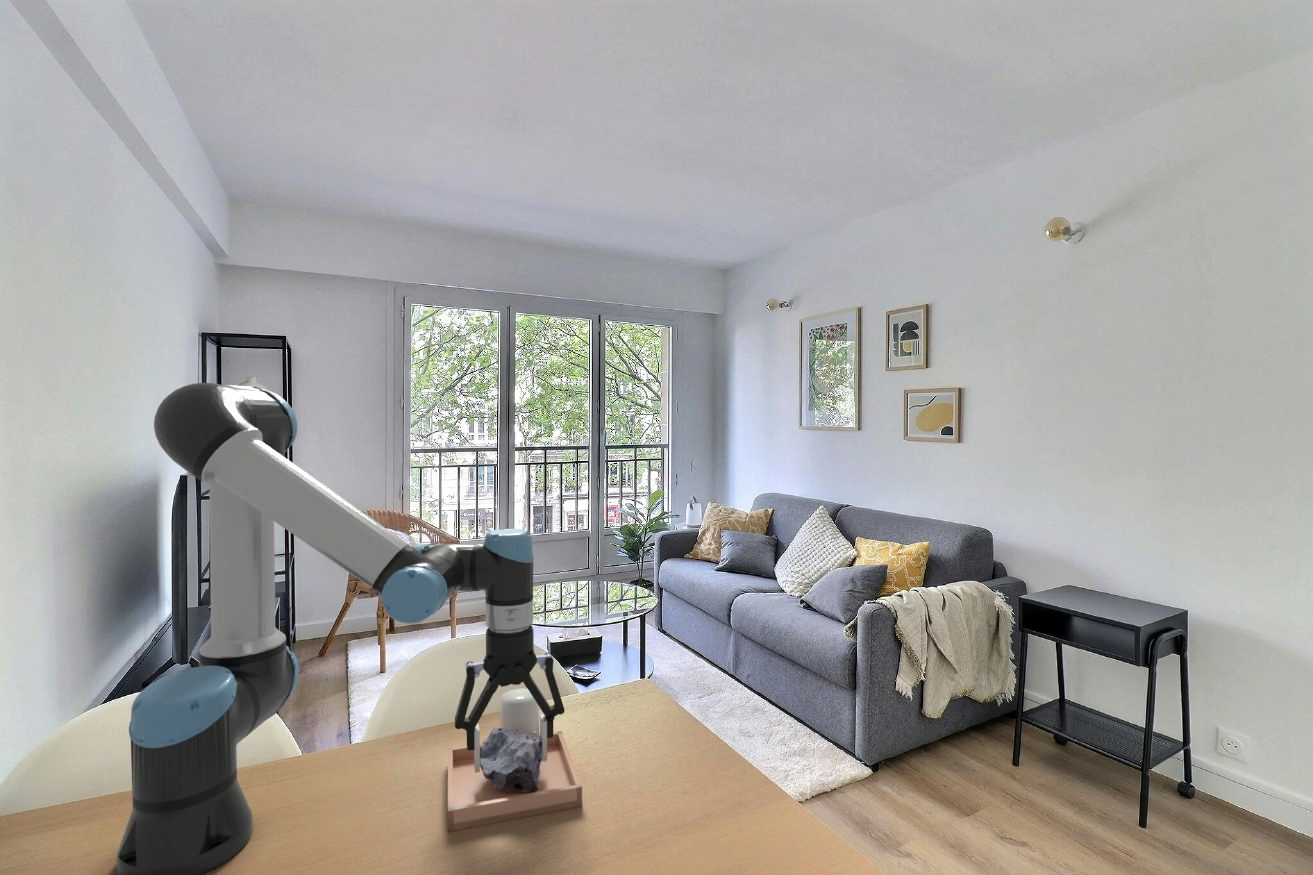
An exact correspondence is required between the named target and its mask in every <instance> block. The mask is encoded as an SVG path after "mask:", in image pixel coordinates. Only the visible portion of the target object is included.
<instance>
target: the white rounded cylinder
mask: <svg viewBox="0 0 1313 875" xmlns="http://www.w3.org/2000/svg"><path fill="white" fill-rule="evenodd" d="M499 701H500V728H512V729H515V730H524V731H537V733H538V734H540V707H539V706H538V704H537V702H536V701H535V699H534V698H533V696H532V695H531V693H530V691H529V690H528V689H527V688H516V689H511V690H508V691H506V692H504V693H502V694H501V696H500V700H499Z"/></svg>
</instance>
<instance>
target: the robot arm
mask: <svg viewBox="0 0 1313 875" xmlns="http://www.w3.org/2000/svg"><path fill="white" fill-rule="evenodd" d="M153 421H154V422H153V430H154V433H155V434H154V435H155V438H156V440H157V442H158V444H159V446H160V447H161V449H162V450H163V452H165V453H166V455H167V456H168V457H169V458H170V459H171V460H172V461H173V462H175V463H176V465H178V466H180V467H181V468H182V469H184V470H185V471H186V472H188V473H189V474H190V475H192V476H193V477H194V478H196V479H197V480H199V481H201V482H202V483H204V484H205V485H207V486H209V554H210V555H209V556H210V557H209V561H210V562H209V563H210V564H209V566H210V567H209V568H210V569H209V570H210V571H209V573H210V575H209V576H210V577H209V580H210V638H208V639H207V641H205V642H204V643H203V644H202V645H201V646H200V647H199V651H198V652H199V653H198V656H199V657H198V658H199V660H198V661H199V663H198V664H199V666H194V667H191V668H185V669H182V670H180V671H179V672H177V673H174V674H167V675H165V676H163V677H161V678H159V679H157V680H155V681H153V682H152V683H150V684H149V685H148V686H146V687H145V688H143V689H142V691H140V692H139V694H138V695H137V696H136V697H135V698H134V700H133V702H132V705H131V709H130V710H131V711H130V721H129V725H128V734H129V739H130V754H131V755H130V760H131V763H130V764H131V793H132V808H131V813H130V816H129V819H128V822H127V825H126V827H125V831H124V832H123V836H122V839H121V842H120V844H119V847H118V849H117V854H116V875H203V874H206V873H207V872H210V871H212V870H213V869H215V868H217V867H219V866H221V865H222V864H224V863H226V862H227V861H228V860H230V859H231V858H233V857H234V856H235V855H237V854H238V853H239V852H240V851H242V849H243V848H244V847H245V846H246V845H247V843H249V841H250V839H251V837H252V834H253V828H254V827H253V814H252V813H253V812H252V809H251V807H250V806H249V803H248V801H247V799H246V796H245V794H244V792H243V790H242V788H241V785H240V783H239V781H238V765H237V764H238V762H237V760H238V758H237V752H238V751H237V746H238V744H239V743H240V742H242V740H244V739H245V738H246V737H248V736H249V735H250V734H251V733H252V732H254V731H255V730H256V729H257V728H258V727H260V726H261V725H262V724H264V722H266V721H267V720H268V719H271V717H273V716H274V715H276V714H277V713H278V712H279V711H280V710H281V709H282V708H283V707H284V706H285V704H286V703H287V701H289V699H290V698H291V697H292V695H293V694H294V693H295V690H296V688H297V685H298V684H299V683H298V682H299V678H300V666H299V661H298V658H297V656H296V655H295V653H294V652H292V651H290V647H289V646H287V637H286V634H285V633H284V632H282V631H281V630H279V629H278V628H277V627H276V582H275V579H276V576H275V575H276V573H275V571H276V570H275V568H276V565H275V564H276V563H275V556H276V555H275V523H276V524H278V526H280V527H282V528H283V529H285V530H287V531H288V532H289V533H291V534H293V535H294V537H296V538H298V539H299V540H300V541H302V542H304V543H306V545H308V546H309V547H311V548H312V549H314V550H315V551H317V552H319V553H320V554H321V555H322V556H324V557H325V558H327V559H328V560H330V561H331V562H332V563H334V564H336V565H337V566H339V567H340V568H342V569H343V570H344V571H346V573H349V574H350V575H352V576H353V577H354V578H356V579H357V580H359V581H360V582H361V583H364V584H365V585H366V586H368V587H369V588H370V589H372V590H373V591H375V592H376V593H377V594H379V595H380V596H381V603H382V605H383V608H384V610H385V612H386V613H387V615H388V616H389V617H390V618H391V619H392V620H394V621H396V622H399V623H401V624H406V625H407V624H409V625H410V624H417V623H420V622H423V621H425V620H427V619H428V618H430V617H431V616H432V615H434V614H436V613H437V612H438V611H440V609H442V608H443V606H444V604H446V602H447V600H448V599H450V598H451V597H452V596H453V595H454V594H455V593H456V592H480V591H481V592H482V591H484V593H485V626H486V627H487V629H486V630H485V656H484V658H483V661H478V662H473V661H472V660H470V661H467V662H466V664H465V671H466V672H465V673H466V678H465V682H464V685H463V688H462V691H461V695H460V698H459V702H458V706H457V709H456V713H455V716H454V728H455V729H456V730H461V729H462V730H464V731H466V746H467V749H468V751H469V750H474V767H475V773H477V772H480V744H481V743H480V741H481V740H480V724H479V721H480V719H481V717H482V716H483V714H484V712H485V710H486V708H487V707H488V705H489V703H490V701H491V699H492V698H493V695H494V694H495V693H496V691H497V690H498V688H499V686H500V687H501V688H503V687H508V686H510V685H514V686H515V685H516V686H517V685H521V683H523V684H524V685H525V687H526V689H528V690H529V691H530V693H531V695H532V696H533V698H534V699H535V701H536V702H537V704H538V706H539V710H541V712H542V713H543V714H539V734H540V740H541V741H542V747H541V752H542V757H543V759H542V762H543V761H547V738H552V737H553V732H554V720H555V717H556V716H558V715H563V714H564V713H565V707H564V703H563V700H562V697H561V694H560V691H559V687H558V684H557V680H556V678H555V674H554V658H553V656H552V654H551V653H550V652H546V653H544V654H540V655H539V654H538V655H537V654H536V653H535V649H534V635H535V634H534V627H533V625H532V624H533V623H534V560H535V559H534V558H535V557H534V555H533V554H534V553H533V538H532V535H531V533H530V532H528V530H525V529H519V528H505V529H504V528H503V529H494V530H493V529H492V530H490V531H488V532H487V533H486V534H485V536H484V541H483V542H480V543H437V542H431V543H428V544H426V543H425V544H416V545H413V546H411V545H410V544H409V543H407V542H406V541H405V540H403V539H402V538H401V537H399V536H397V535H396V534H395V533H393V532H392V531H390V530H389V529H388V528H386V527H385V526H383V525H382V524H381V523H379V522H378V521H376V520H375V519H373V518H372V517H371V516H369V515H367V514H366V513H365V512H363V511H361V509H359V508H357V507H356V506H355V505H353V504H352V503H350V502H349V501H347V500H346V499H345V498H344V497H342V496H341V495H339V494H337V493H336V492H335V491H333V489H330V488H329V487H327V485H325V484H324V483H322V482H320V481H319V480H318V479H316V478H315V477H313V475H310V474H309V473H308V472H306V471H305V470H303V469H302V468H301V467H300V466H297V465H296V463H294V462H292V461H291V460H289V459H288V458H286V456H285V455H286V452H287V451H288V450H289V449H290V447H291V446H292V445H293V444H294V442H295V440H296V436H297V434H298V420H297V417H296V414H295V412H294V410H293V409H292V407H291V406H290V404H289V402H288V401H286V400H285V399H284V398H283V397H282V396H280V395H279V394H277V393H275V392H274V391H271V390H268V389H264V388H261V387H257V386H251V385H233V384H220V383H214V382H213V383H211V382H197V383H190V384H187V385H184V386H181V387H180V388H177V389H175V390H173V391H172V392H171V393H170V394H168V395H167V396H166V397H165V398H164V399H163V400H162V401H161V403H160V404H159V405H158V407H157V409H156V412H155V415H154V420H153ZM536 664H538V665H539V668H540V669H541V670H544V675H545V678H546V680H547V684H548V687H549V690H550V694H551V697H552V700H553V703H554V704H553V705H550V704H549V702H548V701H547V699H546V698H545V696H544V695H543V693H542V691H541V690H540V687H538V685H537V684H536V682H535V680H534V679H533V676H532V675H531V672H532V670H533V669H534V668H535V666H536ZM483 670H484V671H485V673H486V674H487V675H488V676H489V677H488V679H487V681H486V683H485V686H484V687H483V690H482V692H481V693H480V695H479V697H478V698H477V700H476V703H475V704H474V706H473V707H472V709H471V712H470V714H469V716H468V717H466V716H467V713H468V708H469V705H470V701H471V698H472V694H473V691H474V688H475V687H474V686H475V683H476V679H477V678H479V677H480V673H481V672H482V671H483Z"/></svg>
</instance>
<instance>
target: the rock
mask: <svg viewBox="0 0 1313 875" xmlns="http://www.w3.org/2000/svg"><path fill="white" fill-rule="evenodd" d="M539 734H540V733H539ZM539 734H538V733H537V731H524V730H515V729H512V728H501V727H493V729H492V730H491V731H490V733H489V734H488V736H487V737H486V739H484V740H483V742H482V743H483V744H482V745H481V747H480V758H481V759H480V767H481V769H482V771H483V775H484V777H485V778H486V779H491V782H492V786H493V788H494V789H501V790H508V791H517V792H523V793H531V792H535V791H538V788H539V787H538V780H537V779H538V777H539V774H540V769H539V768H540V763H541V761H542V759H543V757H542V752H541V747H542V741H541V740H540V739H539V738H538V735H539Z"/></svg>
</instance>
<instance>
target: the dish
mask: <svg viewBox="0 0 1313 875" xmlns="http://www.w3.org/2000/svg"><path fill="white" fill-rule="evenodd" d="M538 738H539V739H540V733H539V735H538ZM482 744H483V742H482V743H480V747H481V745H482ZM480 759H481V758H480ZM539 769H540V774H539V777H538V779H537V780H538V787H539V788H538V791H535V792H531V793H523V792H517V791H508V790H501V789H494V788H493V786H492V782H491V779H486V778H485V777H484V775H483V771H482V769H481V767H480V772H477V773H475V767H474V750H469V751H468V749H467V745H463V746H461V745H460V746H456V747H450V748H447V832H455V831H459V830H463V829H469V828H474V827H479V826H484V825H490V824H497V823H500V822H505V821H512V820H516V819H517V820H518V819H521V818H526V817H532V816H536V815H537V816H538V815H543V814H549V813H553V812H559V811H562V810H569V809H573V808H579V807H583V785H582V782H581V780H580V776H579V774H578V771H577V769H576V767H575V764H574V761H573V759H572V756H571V752H570V750H569V747H568V745H567V742H566V740H565V737H564V733H563V732H562V730H560V731H553V737H552V738H547V761H543V762H542V761H541V763H540V768H539Z"/></svg>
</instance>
